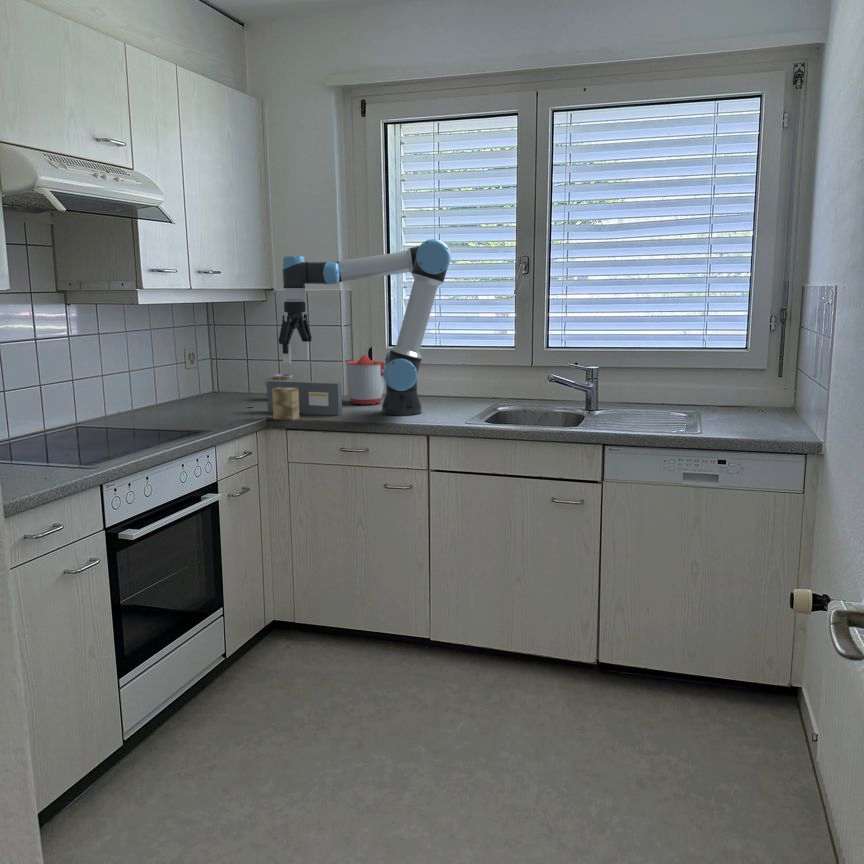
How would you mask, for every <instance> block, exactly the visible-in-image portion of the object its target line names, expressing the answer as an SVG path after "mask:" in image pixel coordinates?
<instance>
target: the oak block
mask: <svg viewBox="0 0 864 864" xmlns="http://www.w3.org/2000/svg"><path fill="white" fill-rule="evenodd" d="M272 400H273V412H272V417H273V418H272V419H273V420H285V421H287V420H288V421H293V420H297V419H300V418H301V417H300V414H299V392H298V388H284V387H278V388H274V389H272Z"/></svg>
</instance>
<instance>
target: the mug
mask: <svg viewBox="0 0 864 864" xmlns="http://www.w3.org/2000/svg"><path fill="white" fill-rule="evenodd" d="M293 377H294V376H293V374H291V373H278V374H277V373H276V374H271V375H270V378H266V379H264V385H265V387H266V388H267V381H269V380H282V381H293V380H292V379H293Z"/></svg>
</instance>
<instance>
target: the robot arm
mask: <svg viewBox="0 0 864 864" xmlns="http://www.w3.org/2000/svg"><path fill="white" fill-rule="evenodd" d="M451 259H452V255H451V250H450V248H449V246H448V245H447V244H446V243H445V242H444V241H442V240H439V239H434V238H431V239H427V240H425V241H423V242H422V243H421V244H420V245H417V246H415V247H409V248H407V250H405V251H399V252H392V253H385V254H378V255H372V256H365V257H358V258H351V259H344V260H338V261H313V262H312V261H305V257H304V256H302V255H286V256H284V257H283V259H282V269H281V270H282V283H283V292H282V293H283V300H284V302H283V312H285V313H287V314H286V315H284V314H283V315H282V322H281V328H280V332H279V337H278V343H279V345H282V363H283V364H292V352H291V344H290V342H291V339H292V336H293V334H294V331H295V330H296V329H297V333H298V334H299V336H300V339H301V341H300V356H301V357H300V358H301V359H300V360H306V361H309V360H310V354H309V353H310V352H309V351H310V349H309V347H310V346H309V345H310V344H309V342H312V338H313V337H312V333H311V329H310V326H309V321H308V314H306V311H307V310H306V309H307V308H306V302H305V300H306V284H308V285H311V284H312V285H335V284H339V283H343V282H350V281H356V280H357V281H358V280H363V279H370V278H379V277H385V276H390V275H391V276H392V275H398V274H405V273H406V274H407V273H410V274H411V275H412V277H413V282H412V283H413V284H412V285H411V287H412V288H411V291H410V294H409V297H408V302H407V305H406V309H405V312H404V315H403V320H402V322H401V327H400V330H399V333H398V337H397V341H396V345H395V346H393V347H391V348H390V350H389V352H386V354H385V358H384V359H385V360H384V361H385V366H384V382H385V385H386V386H385V389H386V392H385V396H384V400H383V402H382V407H381V413H382V414H383V413H384V414H383V415H387V414H388V416H413V415H412V414H414V415H418V413H419V414H421V412H422V413H423V410H422V409H423V407H422V403H421V400H420V398H419V394H418V376H419V375H418V374H419V370H420V367H421V366H420V365H421V363H422V359H423V356H422V355H421V353H420V350H421V347H422V343H423V339H424V336H425V333H426V329H427V327H428V321H429V320H430V315H431V312H432V308H433V305H434V300H435V297H436V294H437V292H438V291H437V290H438V287H439V286H440V285H441V286H442V284H443V283H444V282H445V278H446V275H447V271H448V268H449V266H450V264H451V261H452V260H451ZM303 313H304V314H303Z"/></svg>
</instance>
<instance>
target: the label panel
mask: <svg viewBox="0 0 864 864" xmlns="http://www.w3.org/2000/svg"><path fill="white" fill-rule="evenodd" d="M266 385H267V387H266V395H267V397H266V398H267V412H268V411H269V412H268V413H273V400H272V389H274V388H278V387H284V388H298V392H299V413H303V414H302V415H318V416H319V415H321V416H334V415H338V417H339V416H342V415H343V398H342V396H343V395H342V382H333V381H332V382H330V381H329V382H327V381H308V380H307V381H304V380H303V381H302V380H291V381H282V380H272V379H271V380H269V379H268V380H266ZM341 414H342V415H341Z"/></svg>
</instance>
